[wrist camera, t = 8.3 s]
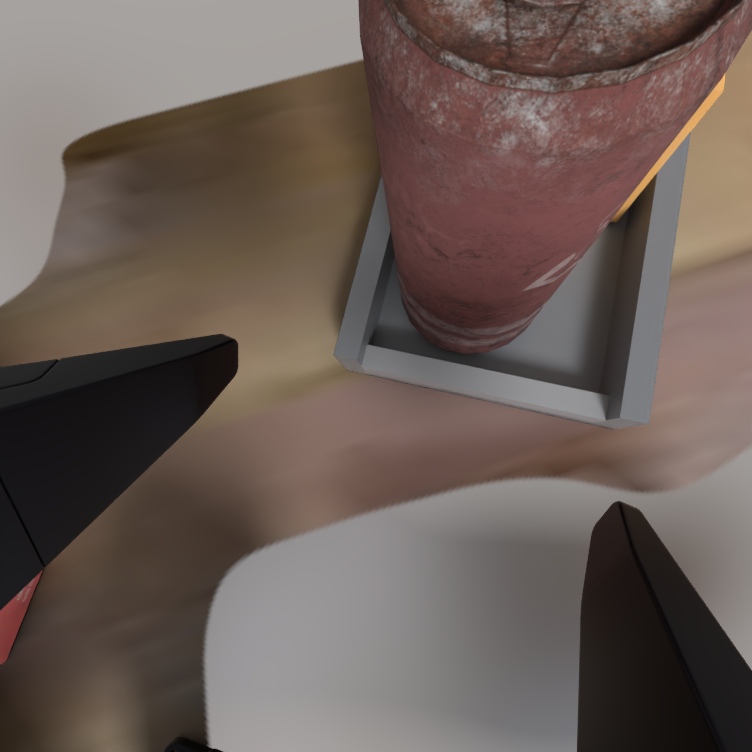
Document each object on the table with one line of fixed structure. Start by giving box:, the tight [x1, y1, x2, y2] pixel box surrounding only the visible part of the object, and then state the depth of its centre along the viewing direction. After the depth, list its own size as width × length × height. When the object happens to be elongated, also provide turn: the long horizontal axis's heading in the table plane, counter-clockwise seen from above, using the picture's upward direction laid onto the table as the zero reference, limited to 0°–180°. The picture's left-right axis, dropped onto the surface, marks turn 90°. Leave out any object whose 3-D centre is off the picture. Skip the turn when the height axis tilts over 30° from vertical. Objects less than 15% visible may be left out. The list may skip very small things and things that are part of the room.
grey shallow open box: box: [334, 131, 691, 429], centre depth 18 cm, size 14×12×5 cm
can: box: [359, 0, 752, 354], centre depth 13 cm, size 6×6×14 cm
